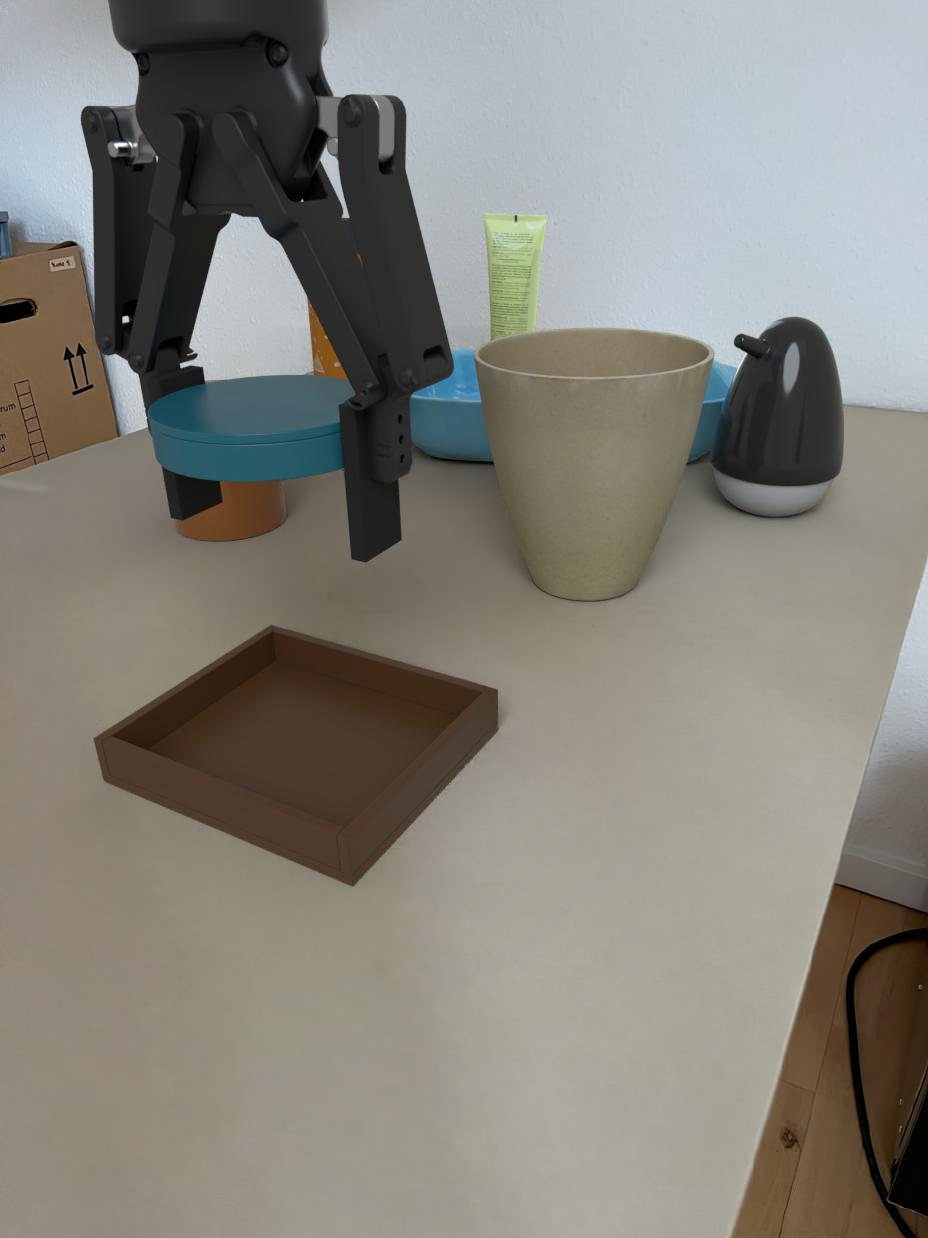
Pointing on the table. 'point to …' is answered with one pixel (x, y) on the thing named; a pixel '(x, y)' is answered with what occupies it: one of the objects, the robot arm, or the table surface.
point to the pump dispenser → (780, 421)
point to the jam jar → (238, 512)
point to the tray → (303, 747)
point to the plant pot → (590, 446)
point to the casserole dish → (456, 420)
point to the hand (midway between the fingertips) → (282, 528)
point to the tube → (513, 271)
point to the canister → (321, 347)
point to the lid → (252, 428)
